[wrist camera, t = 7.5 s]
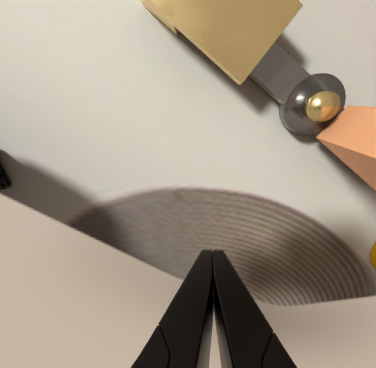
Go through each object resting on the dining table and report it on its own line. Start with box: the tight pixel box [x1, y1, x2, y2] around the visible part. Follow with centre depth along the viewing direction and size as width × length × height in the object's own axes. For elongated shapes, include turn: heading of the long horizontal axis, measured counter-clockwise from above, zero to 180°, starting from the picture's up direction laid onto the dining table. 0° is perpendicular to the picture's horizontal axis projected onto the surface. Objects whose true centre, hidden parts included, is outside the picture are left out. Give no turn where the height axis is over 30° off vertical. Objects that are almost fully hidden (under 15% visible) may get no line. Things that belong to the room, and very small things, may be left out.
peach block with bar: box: [248, 41, 376, 191], centre depth 11 cm, size 4×22×11 cm, turn 54°
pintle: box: [302, 91, 341, 122], centre depth 14 cm, size 2×2×1 cm
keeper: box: [141, 0, 303, 85], centre depth 13 cm, size 9×5×4 cm, turn 53°
